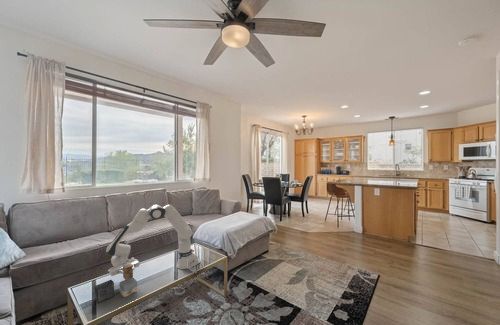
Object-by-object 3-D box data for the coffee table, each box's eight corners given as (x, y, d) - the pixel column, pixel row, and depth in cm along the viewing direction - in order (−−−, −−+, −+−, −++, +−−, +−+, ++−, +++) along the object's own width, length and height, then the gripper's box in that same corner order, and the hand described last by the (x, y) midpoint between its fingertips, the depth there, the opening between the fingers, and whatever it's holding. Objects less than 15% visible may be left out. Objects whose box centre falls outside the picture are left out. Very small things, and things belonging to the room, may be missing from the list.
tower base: (132, 287, 164) (132, 282, 164) (137, 291, 158) (137, 286, 158) (119, 292, 157) (119, 287, 157) (124, 297, 151) (124, 292, 151)
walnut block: (130, 274, 161) (130, 263, 161) (132, 277, 158) (133, 265, 158) (123, 277, 157) (123, 265, 157) (125, 279, 154) (125, 267, 154)
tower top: (132, 281, 164) (132, 276, 164) (137, 286, 158) (137, 281, 158) (119, 287, 157) (119, 282, 157) (124, 292, 151) (124, 286, 151)
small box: (111, 292, 156) (111, 278, 156) (114, 296, 152) (114, 282, 152) (94, 299, 148) (94, 285, 148) (97, 303, 144) (97, 289, 144)
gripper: (106, 265, 158) (112, 272, 149) (135, 256, 173) (142, 262, 164) (106, 274, 158) (112, 281, 149) (135, 264, 174) (142, 270, 164)
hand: (128, 271), depth 157 cm, fingers closed on walnut block, 5 cm apart
